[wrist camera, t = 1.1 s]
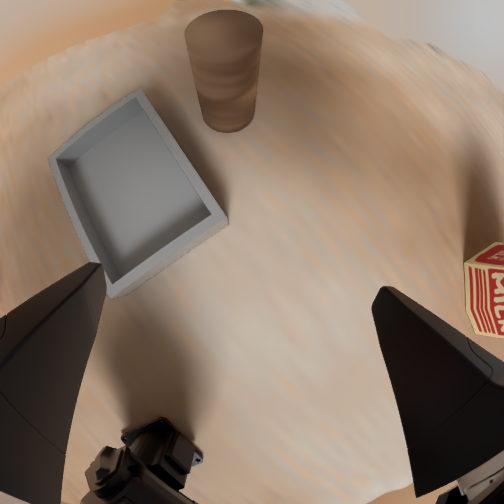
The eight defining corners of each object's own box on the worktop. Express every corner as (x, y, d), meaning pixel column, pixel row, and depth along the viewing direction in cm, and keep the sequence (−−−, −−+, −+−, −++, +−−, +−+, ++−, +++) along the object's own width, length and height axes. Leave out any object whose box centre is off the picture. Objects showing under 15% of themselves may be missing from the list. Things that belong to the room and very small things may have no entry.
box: (127, 294, 23) (110, 298, 19) (65, 169, 23) (47, 158, 20) (228, 224, 23) (226, 217, 20) (150, 106, 24) (140, 87, 20)
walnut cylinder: (219, 141, 24) (208, 63, 13) (193, 106, 24) (172, 27, 13) (264, 117, 24) (278, 36, 13) (236, 84, 24) (236, 3, 13)
